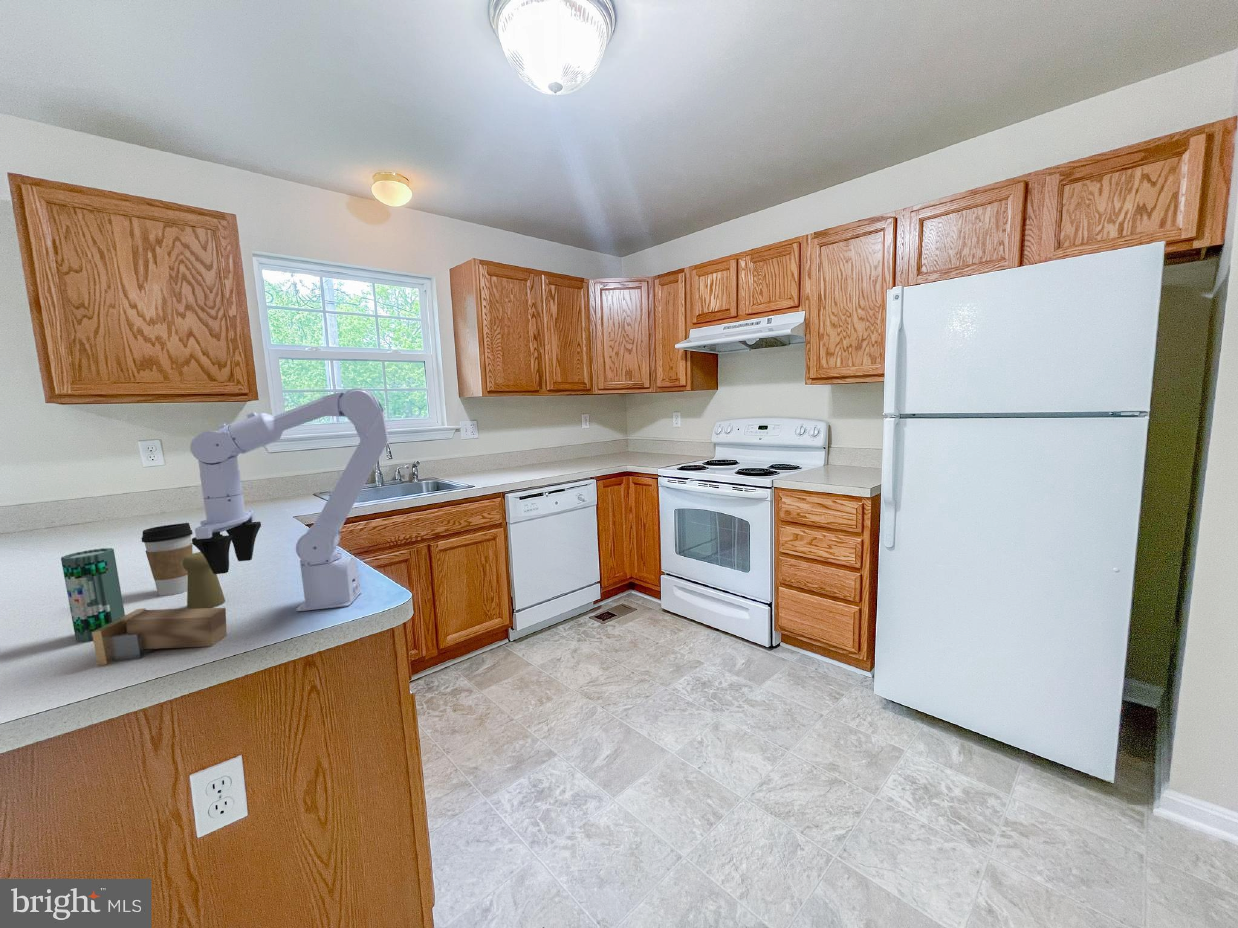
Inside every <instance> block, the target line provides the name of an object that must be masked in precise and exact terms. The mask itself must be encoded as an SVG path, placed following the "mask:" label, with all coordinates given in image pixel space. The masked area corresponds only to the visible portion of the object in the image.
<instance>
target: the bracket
mask: <svg viewBox="0 0 1238 928" xmlns="http://www.w3.org/2000/svg"><path fill="white" fill-rule="evenodd" d="M145 610H147V608H137V609H135V610H133V611H130V612H129V613H127V614H125V616H123V617H121V618H119V619H117V620H115V621H113V622H111V623H109V624H107V625H105V626H103V627H101V628H99V629H97V630H95V631H93V632H92V635H93V640H92V641H93V646H94V651H95V652H94V653H95V656H96V662H97V666H104V665H105V666H106V665H109V664H110V663H112V662H118V661H119V662H120V661H128V660H129V661H130V660H136V659H141V658H143V657H146V655H148V654H150V653H152V652H153V651H155V650H156V649H157V648H154V649H143V644H142V638H141V632H138V633H129V634H127V623H126V620H127V619H129V618H131V617H133V616H135V615H137V614H139V613H141V612H143V611H145Z"/></svg>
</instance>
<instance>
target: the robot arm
mask: <svg viewBox="0 0 1238 928" xmlns="http://www.w3.org/2000/svg"><path fill="white" fill-rule="evenodd" d="M382 405H383V404H382V403H381V402H380V400H379V398H378V397H377V396H376V395H375V394H374V393H373V392H370V391H369V390H368V389H367V390H366V389H365V388H360V387H354V388H350V389H348V390H346V391H345V392H344V391H340V392H339V391H338V392H334V393H332V394H330V393H329V394H327V395H323V396H321V397H318V398H316V399H314V400H311V401H309V402H306V403H304V404H301V405H298V406H296V407H293V408H291V409H288V410H286V411H283V412H280V413H278V414H276V415H273V414H272V415H271V414H269V413H265V412H260V413H257V412H256V411H255V412H250V413H248V414H246V418H244V419H241V420H239V421H236V422H232V423H229V424H227V423H222V424H219V425H218V428H219V429H218V430H204V431H202V432H201V433H199V434H197V435H196V436H194V438H193V439H192V441H191V442H190V445H189V446H190V448H189V449H190V451H191V452H190V453H191V454H192V455H193V457H194V458H195V459H196V460H197V462H198V467H199V477H200V483H201V485H200V486H201V491H202V497H203V503H204V505H203V506H204V512H205V517H206V519H204V520H200V522H199V523H200V525H199V526H197V527H195V528H194V532H195V537H192V538H191V543H192V546H195V548H197V550H199V552H201V553H202V554H203V555H204V557H205V559H206V560H207V562H208V564H209V566H210V568H211V570H212V572H213V574H217V575H220V574H222V575H223V574H227V573H229V570H230V547H231V544H232V545H233V549H234V553H235V557H236V559H237V561H238V562H246V561H247V562H249V561H252V559H253V555H254V548H255V542H256V538H257V536H258V532H259V531H260V529H261V526H262V522H261V521H256V515H255V510H248V511H247V510H246V507H245V500H244V492H243V487H242V480H241V478H242V477H241V471H240V468H239V462H238V457H239V455H240V454H241V455H242V454H247V453H249V452H252V451H255V450H256V449H260V448H263V447H265V446H267V445H270V444H272V443H275V442H279V441H280V440H281V438H282V435H283V432H285V431H286V430H290V429H292V428H296V427H298V426H302V425H304V424H306V423H310V422H313V421H315V420H318V419H321V418H324V417H342V418H343V417H346V418H347V419H348V420H349V422H350V423H352V425H353V426H354V429H355V431H356V433H357V436H358V438H359V443H358V445H357V446H356V448H355V450H354V452H353V454H352V456H351V457H350V459H349V460H348V463H347V464H346V465H345V468H344V470H343V471H342V473H341V476H340V477H339V479H338V481H337V483H336V484H335V486H334V488H333V490H332V492H331V494H330V495H329V497H328V499H327V501H326V503H325V505H324V506H323V508H322V510H321V512H320V513H319V515H318V516H317V518H316V520H315V521H314V522H313V524H312V525H311V526H310V527H309V528H308V529H307V531H306V532H305V534H302V535H301V536H300V537H299V538H298V540H297V542H296V545H295V551H296V555H297V556H298V558H299V566H300V571H301V572H300V573H301V581H302V587H303V597H304V602H303V603H302V604H300V605H299V606H298V607H297V608H296V609H295V610H296V612H304V611H313V610H323V609H332V608H342V607H343V608H344V607H348V606H350V605H351V604H352V603H353V602H354V601H355V600H356V598H358V597H359V595H360V594H361V593H362V592H363V590H362V589H361V583H360V574H359V567H358V562H357V560H356V558H355V557H353V556H352V557H351V556H345V555H343V554H342V553H343V552H342V551H341V550H340V549H338V547H337V546H338V545H339V544H340V542H341V531H342V528H343V526H344V524H345V522H346V520H347V517H348V516H349V514H350V512H351V510H352V509H353V507H354V505H355V503H356V500H357V499H358V497H359V495H360V494H361V492H362V490H363V488H364V487H365V485H366V483H367V481H368V479H369V477H370V475H372V474H371V473H372V472H373V470H374V468H375V466H376V464H377V463H378V461H379V459H380V457H381V455H382V453H383V451H385V448H386V446H387V444H388V441H389V436H388V430H387V429H388V428H387V424H386V415H385V409H384V407H383V406H382ZM223 532H226V533H227V535H223V534H222V533H223Z"/></svg>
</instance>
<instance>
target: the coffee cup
mask: <svg viewBox="0 0 1238 928" xmlns="http://www.w3.org/2000/svg"><path fill="white" fill-rule="evenodd" d="M193 533H194V532H193V530H192V528H191V526H190V523H189V522H183V523H174V524H167V525H159V526H154V527H151V528H146V529H143V530H142V537H141V543H144V545H145V549H146V550H145V555H146V557H147V561H148V565H149V567H150V570H151V574H152V577H153V580H154V584H155V586H156V587H155V588H156V591H157V594H158V596H163V597H165V596H167V597H168V596H172V595H173V596H174V595H178V594H182V593H185V592H187V585H188V571H186V570H185V569H184V567H183V560H184V558H185V557H186V556H188V555H190V554H193V550H194V549H193V544H192V538H191V537H192V535H193Z"/></svg>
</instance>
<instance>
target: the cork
mask: <svg viewBox="0 0 1238 928" xmlns="http://www.w3.org/2000/svg"><path fill="white" fill-rule="evenodd" d="M183 567H184V569H185V570H186V571H188V585H187V591H186V592H187V593H186V597H187V598H186V609H199V608H217V607H219V606H221V605H223V604H224V603H225V602H226V599H225V596H224V592H223V589H222V586H221V583H220V580H219V577H218V574H213V572H212V570H211V568H210V566H209V564H208V562H207V560H206V559H205V557H204V555H203V554H202V553H201V552H200V551H198V552H194V553H193V554H190V555H188V556H186V557H185V558H184V560H183Z"/></svg>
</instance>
